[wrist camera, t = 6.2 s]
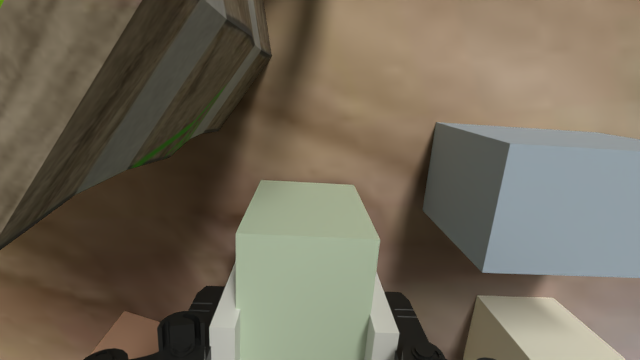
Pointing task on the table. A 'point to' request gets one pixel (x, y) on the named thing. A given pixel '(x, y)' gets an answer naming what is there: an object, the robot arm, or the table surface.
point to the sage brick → (305, 272)
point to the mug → (112, 89)
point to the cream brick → (531, 332)
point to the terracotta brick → (131, 336)
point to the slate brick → (537, 199)
